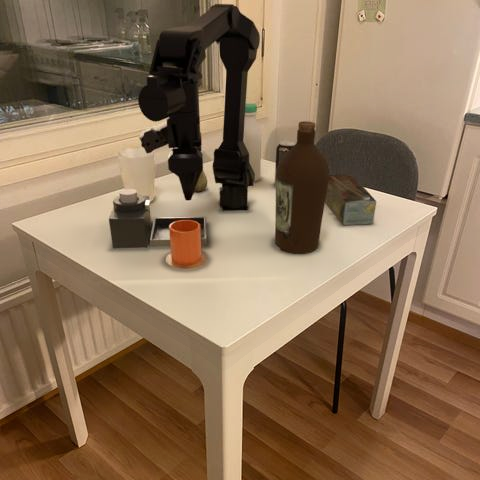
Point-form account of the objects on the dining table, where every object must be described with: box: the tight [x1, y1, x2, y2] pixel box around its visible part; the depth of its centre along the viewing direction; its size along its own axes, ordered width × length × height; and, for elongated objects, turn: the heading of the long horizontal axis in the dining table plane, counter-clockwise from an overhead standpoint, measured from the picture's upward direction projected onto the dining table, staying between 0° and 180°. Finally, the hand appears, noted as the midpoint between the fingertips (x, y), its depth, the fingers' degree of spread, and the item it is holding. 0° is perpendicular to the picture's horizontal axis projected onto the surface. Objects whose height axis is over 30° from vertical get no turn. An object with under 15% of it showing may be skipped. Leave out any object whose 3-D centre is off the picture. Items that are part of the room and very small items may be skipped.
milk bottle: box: [243, 102, 262, 182], centre depth 135 cm, size 8×8×20 cm
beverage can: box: [274, 139, 297, 186], centre depth 132 cm, size 6×6×12 cm
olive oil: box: [274, 120, 330, 255], centre depth 98 cm, size 11×11×25 cm
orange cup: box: [169, 220, 202, 265], centre depth 96 cm, size 6×6×7 cm
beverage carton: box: [325, 173, 377, 226], centre depth 120 cm, size 8×19×7 cm, turn 7°
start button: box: [118, 188, 138, 203], centre depth 102 cm, size 4×4×2 cm
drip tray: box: [149, 216, 208, 248], centre depth 107 cm, size 12×12×2 cm
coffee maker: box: [108, 195, 152, 249], centre depth 105 cm, size 7×13×8 cm, turn 4°
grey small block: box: [145, 200, 151, 212], centre depth 104 cm, size 1×3×2 cm, turn 4°
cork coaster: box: [165, 251, 209, 270], centre depth 98 cm, size 8×8×1 cm
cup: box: [117, 147, 156, 203], centre depth 122 cm, size 9×9×12 cm
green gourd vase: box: [194, 169, 208, 192], centre depth 129 cm, size 6×5×12 cm
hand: (188, 191), depth 98 cm, fingers open, 9 cm apart
